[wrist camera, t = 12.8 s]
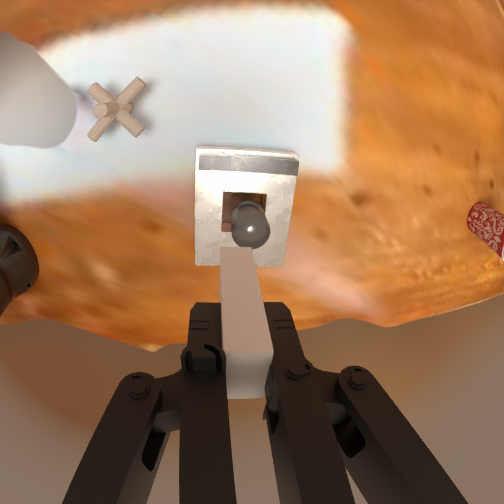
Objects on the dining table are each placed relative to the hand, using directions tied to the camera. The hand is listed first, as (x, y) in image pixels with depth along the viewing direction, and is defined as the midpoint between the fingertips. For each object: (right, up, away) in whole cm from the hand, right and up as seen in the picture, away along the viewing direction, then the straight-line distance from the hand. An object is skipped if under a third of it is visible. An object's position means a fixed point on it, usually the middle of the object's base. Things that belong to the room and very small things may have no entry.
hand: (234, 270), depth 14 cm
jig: (-1, +8, +29) cm, 30 cm away
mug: (+55, +10, +35) cm, 66 cm away
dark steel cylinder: (0, +8, +29) cm, 30 cm away
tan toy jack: (-17, +22, +20) cm, 34 cm away
